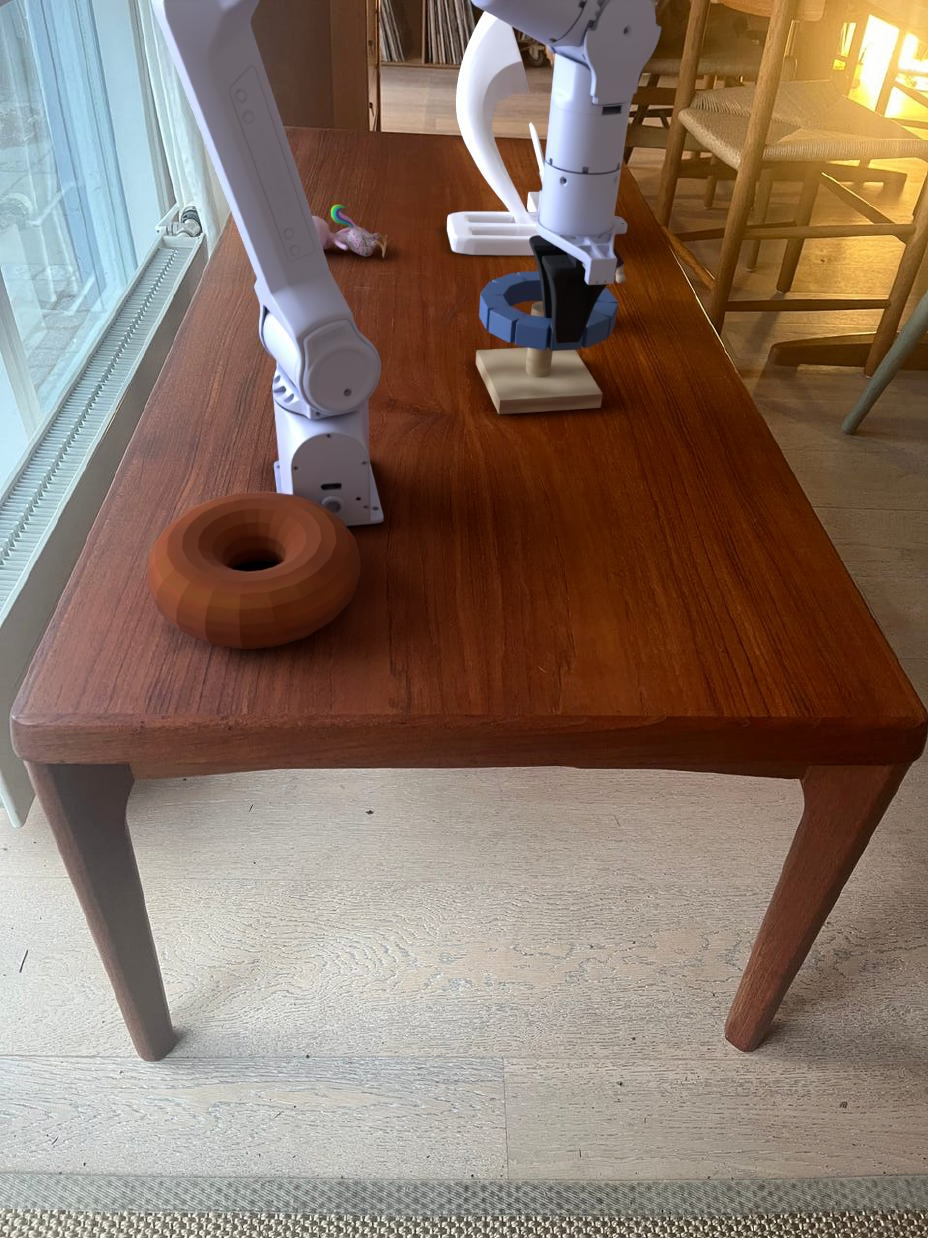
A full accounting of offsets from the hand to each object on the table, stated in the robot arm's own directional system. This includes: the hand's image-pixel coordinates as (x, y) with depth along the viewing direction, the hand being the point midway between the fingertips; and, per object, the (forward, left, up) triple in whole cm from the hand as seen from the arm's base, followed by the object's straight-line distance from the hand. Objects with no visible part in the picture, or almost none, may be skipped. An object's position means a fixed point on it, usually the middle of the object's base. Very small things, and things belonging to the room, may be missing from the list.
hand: (562, 333), depth 82 cm
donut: (-18, +27, -10) cm, 34 cm away
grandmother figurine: (+22, -10, -10) cm, 27 cm away
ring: (+5, 0, -1) cm, 5 cm away
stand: (+9, -1, -10) cm, 14 cm away
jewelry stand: (+51, -8, -10) cm, 53 cm away
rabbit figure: (+44, +16, -10) cm, 48 cm away
